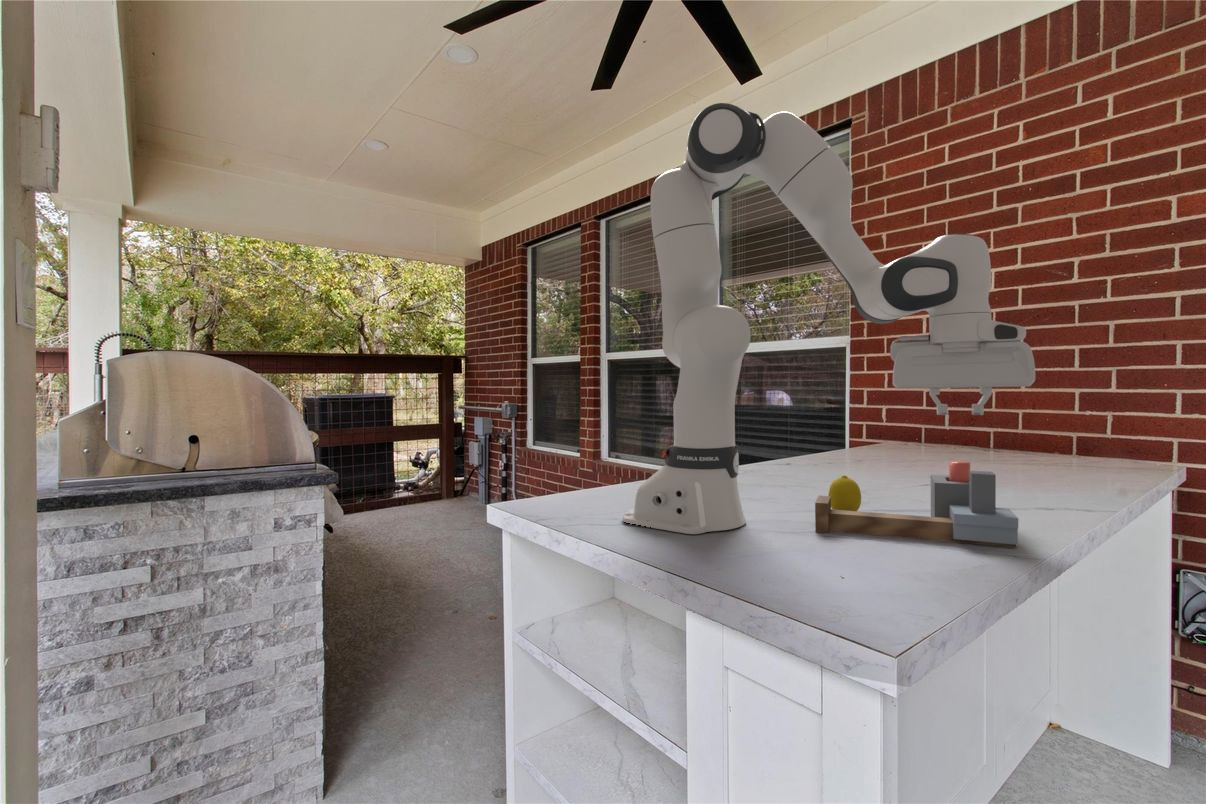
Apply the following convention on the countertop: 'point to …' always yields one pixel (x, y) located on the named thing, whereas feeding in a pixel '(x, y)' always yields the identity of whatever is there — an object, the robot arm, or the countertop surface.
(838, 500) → the lemon
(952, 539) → the rail
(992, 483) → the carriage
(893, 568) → the countertop surface
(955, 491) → the grey block
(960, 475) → the pink block
